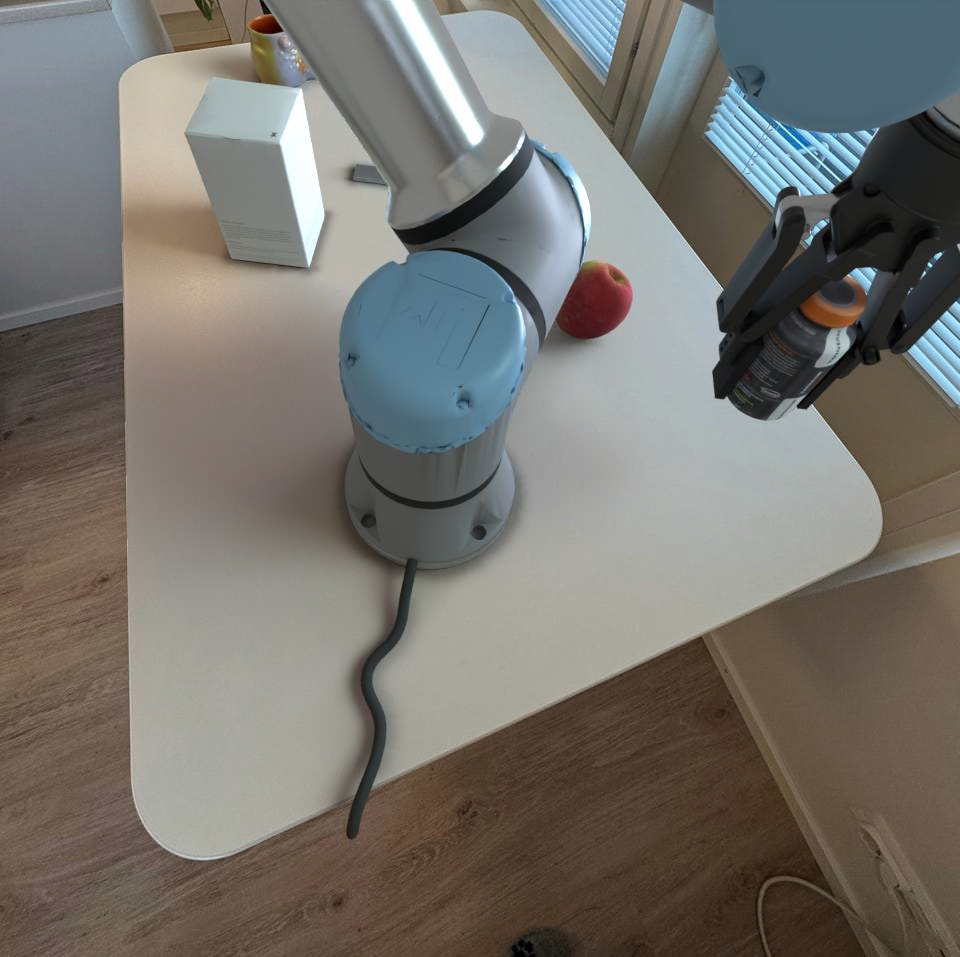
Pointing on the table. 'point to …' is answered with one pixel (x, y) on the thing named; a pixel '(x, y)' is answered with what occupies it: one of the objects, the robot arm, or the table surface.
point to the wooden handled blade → (368, 174)
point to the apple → (595, 301)
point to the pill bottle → (800, 351)
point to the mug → (275, 54)
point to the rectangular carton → (258, 170)
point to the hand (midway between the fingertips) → (759, 389)
